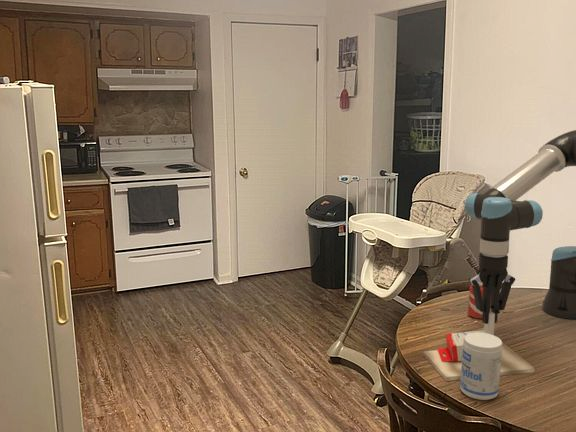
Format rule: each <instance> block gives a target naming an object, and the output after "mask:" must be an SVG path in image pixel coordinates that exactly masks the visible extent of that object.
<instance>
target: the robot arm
mask: <svg viewBox="0 0 576 432" xmlns="http://www.w3.org/2000/svg"><path fill="white" fill-rule="evenodd" d="M567 167H568V168H569V167H576V129H574V130H570V131H567V132H564V133H563V134H560V135H558V136H556V137H554V138H553V139H551V140H549V141H547V142H546V143H545V144H543V145H542V146H541V147H540V148H539V149H538V151H537V153H536V154H535V155H534V156H532V157H531V158H530V159H528V160H527V161H526V162H524V163H522V165H520V166H519V167H517V168H516V169H514V170H513V171H512V172H510V173H509V174H508V175H506V176H505V177H504V178H502V179H501V180H500V181H499V182H496V184H494V185H493V186H491V187H490V188H489V189H487V190H485V191H484V192H483V193H479V192H478V193H477V192H475V193H473V192H472V193H471V194H469V195H468V196H467V198H466V199H465V202H464V210H465V213H466V215H468V217H471V218H474V219H477V220H480V238H479V240H480V241H479V252H480V253H479V255H478V270H477V273H476V275H475V276H473V277H470V278H468V281H469V283H470V286H471V285H472V288H473V293H474V299H475V304H476V308H477V309H478V310H479V311H481V312H483V314H482V318H481V322H482V323H483V324H484V326H483V327H484V328H483V330H484V332H485V333H487V334H491V335H494V332H495V324H496V323H497V322H498V315H499V314H500V312H501V311H504V310H505V308H506V305H507V302H508V298H509V295H510V291H511V288H512V285H514V283H515V281H516V278H515V277H514V276H513V275H511V274H509V272H508V269H507V268H508V263H509V262H508V261H509V256H508V254H509V251H510V250H509V249H510V248H509V247H510V233H511V231H515V230H520V229H529V228H531V227H534V226H538V225H539V224H540V223H541V222H542V219H543V215H544V214H543V213H544V211H543V209H542V207H541V204H539V203H538V202H537V201H535V200H533V199H532V200H528V199H525V200H522V201H521V200H520V201H519V199H520V198H521V197H523V196H524V195H525V194H527V193H528V192H529V191H530V190H532V189H534V187H536V186H537V185H538V184H539V183H541V182H542V181H544V180H545V179H546V178H547V177H549V176H550V175H551V174H553V173H556V172H557V173H558V172H561V171H563V169H566V168H567ZM480 281H481V282H482V283H483V284H482V287H483V299H482V295H481V289H480V286H479V284H480ZM541 306H542V307H541V309H542V310H543V311H544V312H545V313H546V314H548V315H551V316H553V317H557V318H561V319H569V320H572V319H573V320H576V246H575V245H569V246H565V245H564V246H559V247H556V248H554V249H553V251H552V253H551V259H550V275H549V287H548V290H547V292H546V294H545V296H544V299H543V301H542V305H541ZM494 336H495V335H494Z"/></svg>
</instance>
